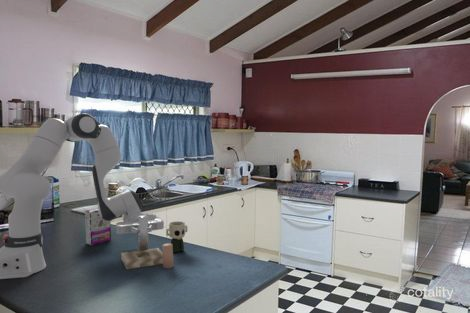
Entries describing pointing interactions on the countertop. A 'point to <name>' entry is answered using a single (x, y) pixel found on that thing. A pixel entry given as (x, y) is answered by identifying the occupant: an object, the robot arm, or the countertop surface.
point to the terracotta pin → (167, 255)
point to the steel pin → (143, 232)
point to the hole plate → (142, 258)
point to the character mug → (177, 235)
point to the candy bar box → (96, 228)
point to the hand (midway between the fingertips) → (143, 230)
